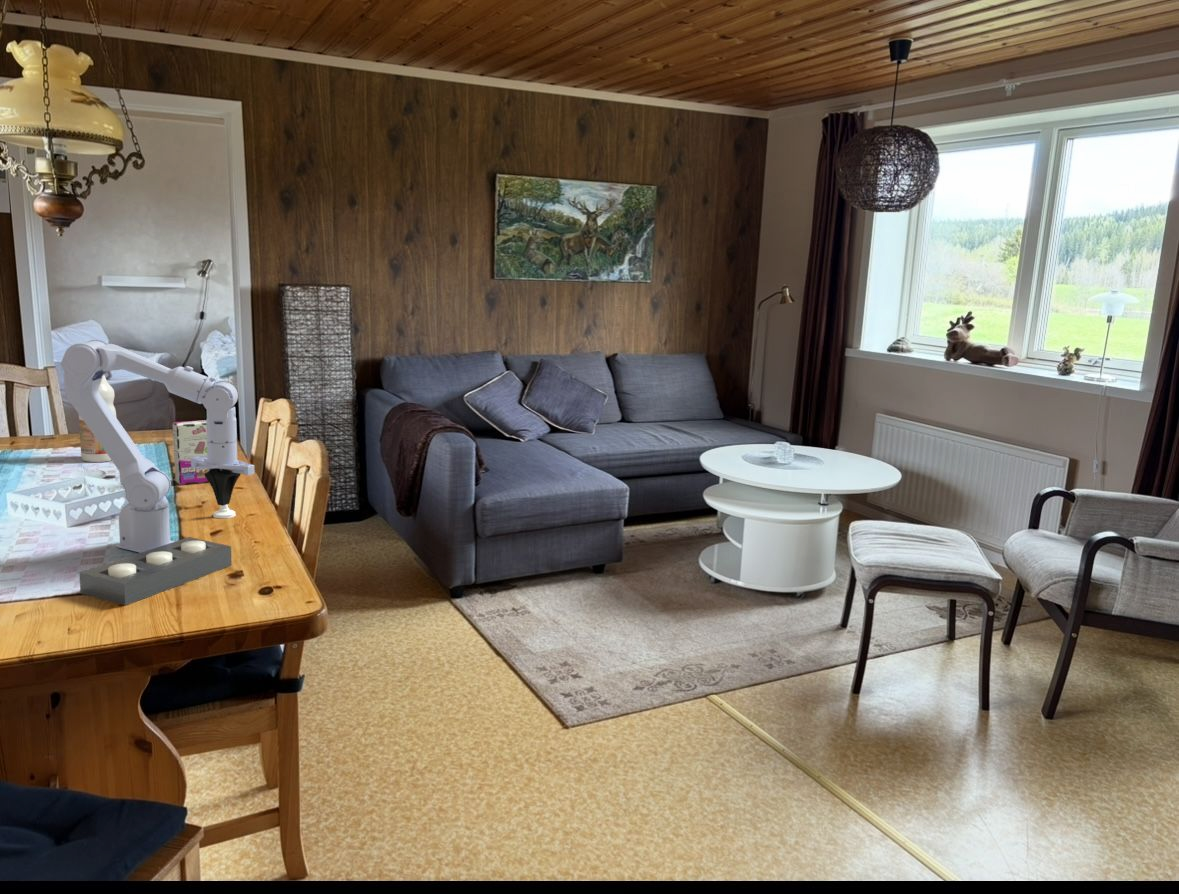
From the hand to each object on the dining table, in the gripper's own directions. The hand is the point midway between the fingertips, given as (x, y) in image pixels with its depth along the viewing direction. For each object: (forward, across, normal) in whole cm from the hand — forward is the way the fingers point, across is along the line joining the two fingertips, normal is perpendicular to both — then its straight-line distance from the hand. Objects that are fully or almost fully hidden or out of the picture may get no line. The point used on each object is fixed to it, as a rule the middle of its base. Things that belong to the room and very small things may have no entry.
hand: (223, 504), depth 181 cm
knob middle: (+9, +3, -20) cm, 22 cm away
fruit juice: (+10, -84, +45) cm, 96 cm away
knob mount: (+9, +3, -20) cm, 22 cm away
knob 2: (+9, +3, -12) cm, 16 cm away
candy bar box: (+10, -44, +40) cm, 60 cm away
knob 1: (+9, +2, -28) cm, 30 cm away
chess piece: (+10, -16, +18) cm, 26 cm away
